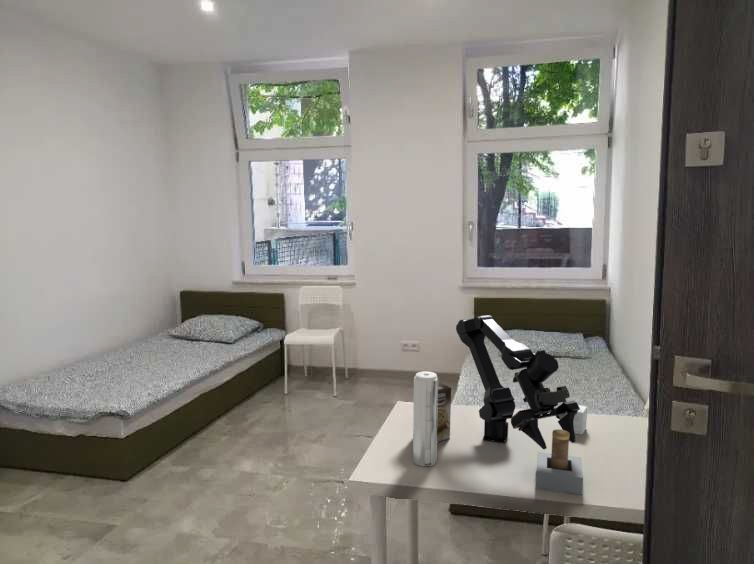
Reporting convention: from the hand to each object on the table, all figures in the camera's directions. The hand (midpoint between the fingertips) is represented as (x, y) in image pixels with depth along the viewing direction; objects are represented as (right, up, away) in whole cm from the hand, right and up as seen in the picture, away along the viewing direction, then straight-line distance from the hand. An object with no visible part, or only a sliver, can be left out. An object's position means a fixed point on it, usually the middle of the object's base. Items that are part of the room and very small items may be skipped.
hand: (559, 445), depth 141 cm
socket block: (0, -9, +1) cm, 9 cm away
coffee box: (-30, -6, +26) cm, 40 cm away
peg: (0, -9, +1) cm, 9 cm away
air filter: (-33, -8, +12) cm, 36 cm away
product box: (+15, -5, +32) cm, 36 cm away
